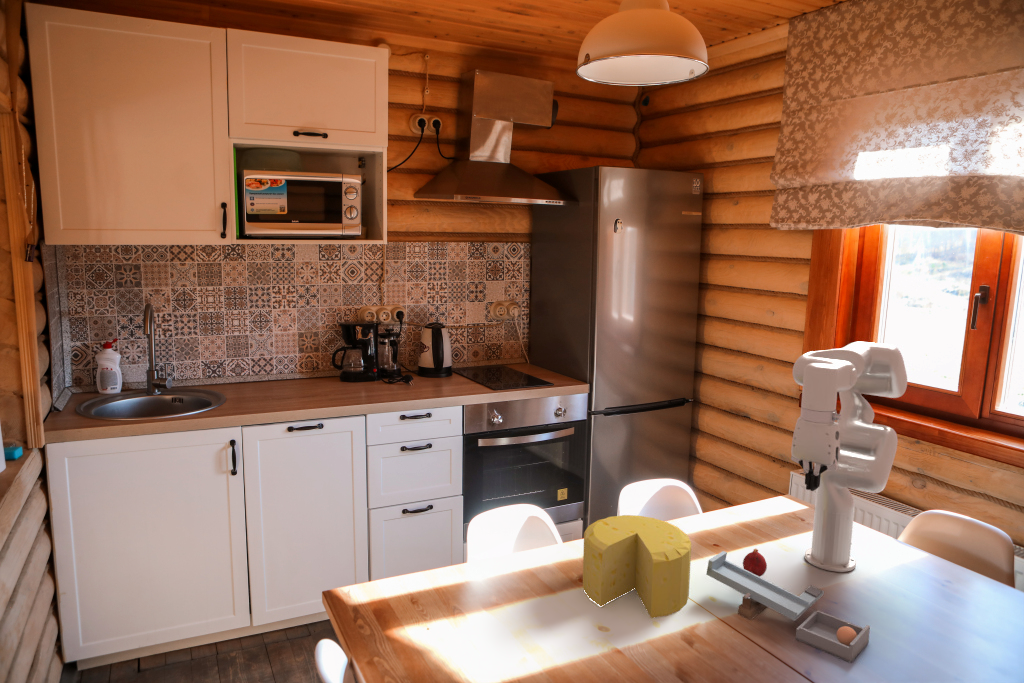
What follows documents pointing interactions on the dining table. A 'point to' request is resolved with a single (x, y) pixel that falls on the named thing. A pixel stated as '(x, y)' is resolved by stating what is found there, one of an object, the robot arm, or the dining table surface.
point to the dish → (831, 635)
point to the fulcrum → (750, 608)
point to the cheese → (637, 562)
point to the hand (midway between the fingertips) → (811, 488)
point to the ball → (846, 635)
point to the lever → (761, 588)
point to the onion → (755, 563)
